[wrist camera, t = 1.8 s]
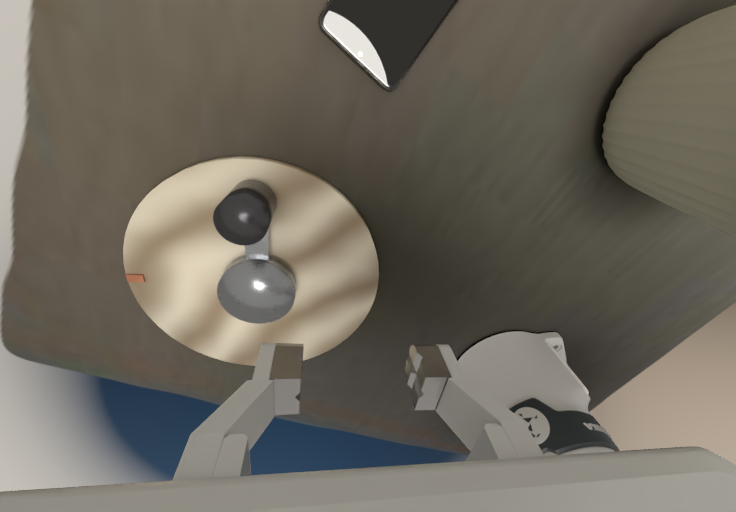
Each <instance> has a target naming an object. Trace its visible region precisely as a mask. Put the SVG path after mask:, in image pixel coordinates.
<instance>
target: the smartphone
mask: <svg viewBox="0 0 736 512" xmlns="http://www.w3.org/2000/svg"><path fill="white" fill-rule="evenodd" d="M457 2H458V0H328V2H327V3H326V5H325V7H324V9H323V10H322V12H321V14H320V17H319V25H320V28H321V30H322V31H323V32H324V33H325V34H326V35H327V36H328V37H329V38H330V39H331V40H332V41H333V42H334V43H335V44H336V45H337V46H338V47H339V48H340V49H341V50H343V51H344V52H345V53H346V54H347V55H348V56H349V57H350V58H351V59H352V60H353V61H354V62H355V63H356V64H357V65H359V66H360V67H361V68H362V69H363V70H364V71H365V72H366V73H367V74H368V75H369V76H370V77H371V78H372V79H373V80H375V81H376V82H377V83H378V84H379V85H380V86H381V87H382V88H383V89H385V90H387V91H392V90H394V89H395V88H396V87H397V86H398V85H399V83H400V82H401V81H402V79H403V78H404V76H405V75H406V74H407V72H408V71H409V69H410V68H411V67H412V65H413V64H414V62H415V61H416V60H417V58H418V57H419V55H420V54H421V52H422V51H423V50H424V48H425V47H426V45H427V44H428V43H429V41H430V40H431V38H432V37H433V36H434V34H435V33H436V31H437V30H438V29H439V27H440V26H441V24H442V23H443V22H444V20H445V19H446V17H447V16H448V15H449V13H450V12H451V10H452V9H453V7H454V6H455V5H456V3H457Z"/></svg>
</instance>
